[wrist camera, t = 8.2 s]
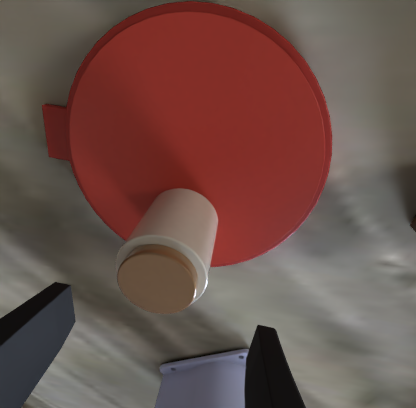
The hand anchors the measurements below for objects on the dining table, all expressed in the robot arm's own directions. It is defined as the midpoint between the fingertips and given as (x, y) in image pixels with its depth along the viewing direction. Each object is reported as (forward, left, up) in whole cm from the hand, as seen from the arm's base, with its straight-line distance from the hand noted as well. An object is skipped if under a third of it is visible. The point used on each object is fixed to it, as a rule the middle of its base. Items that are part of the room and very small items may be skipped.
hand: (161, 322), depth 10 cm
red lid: (+2, +3, -9) cm, 10 cm away
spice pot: (-1, 0, -7) cm, 7 cm away
